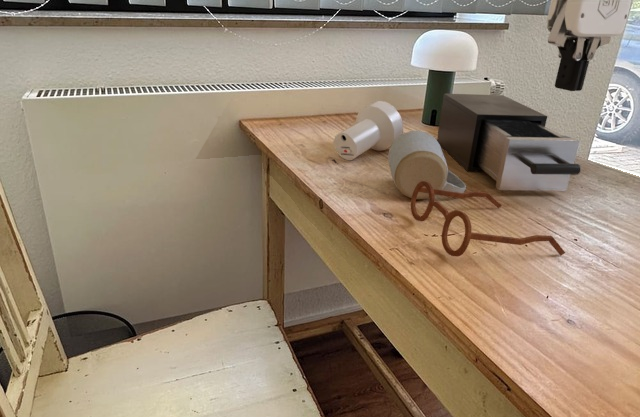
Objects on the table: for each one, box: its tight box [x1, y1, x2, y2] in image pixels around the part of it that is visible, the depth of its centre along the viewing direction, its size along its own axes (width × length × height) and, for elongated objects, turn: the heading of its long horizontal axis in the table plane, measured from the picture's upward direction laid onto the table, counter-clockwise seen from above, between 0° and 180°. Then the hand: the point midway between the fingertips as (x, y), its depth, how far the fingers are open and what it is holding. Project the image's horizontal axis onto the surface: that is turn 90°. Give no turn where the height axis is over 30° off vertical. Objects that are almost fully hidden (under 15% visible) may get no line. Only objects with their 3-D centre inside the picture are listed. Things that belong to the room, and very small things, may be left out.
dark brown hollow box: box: [436, 93, 548, 173], centre depth 83 cm, size 16×11×9 cm
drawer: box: [474, 120, 581, 192], centre depth 71 cm, size 19×10×7 cm, turn 5°
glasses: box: [410, 181, 566, 258], centre depth 56 cm, size 13×13×5 cm
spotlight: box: [333, 100, 404, 161], centre depth 82 cm, size 8×11×8 cm
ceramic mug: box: [387, 130, 467, 200], centre depth 67 cm, size 11×8×8 cm
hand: (567, 88), depth 68 cm, fingers closed
